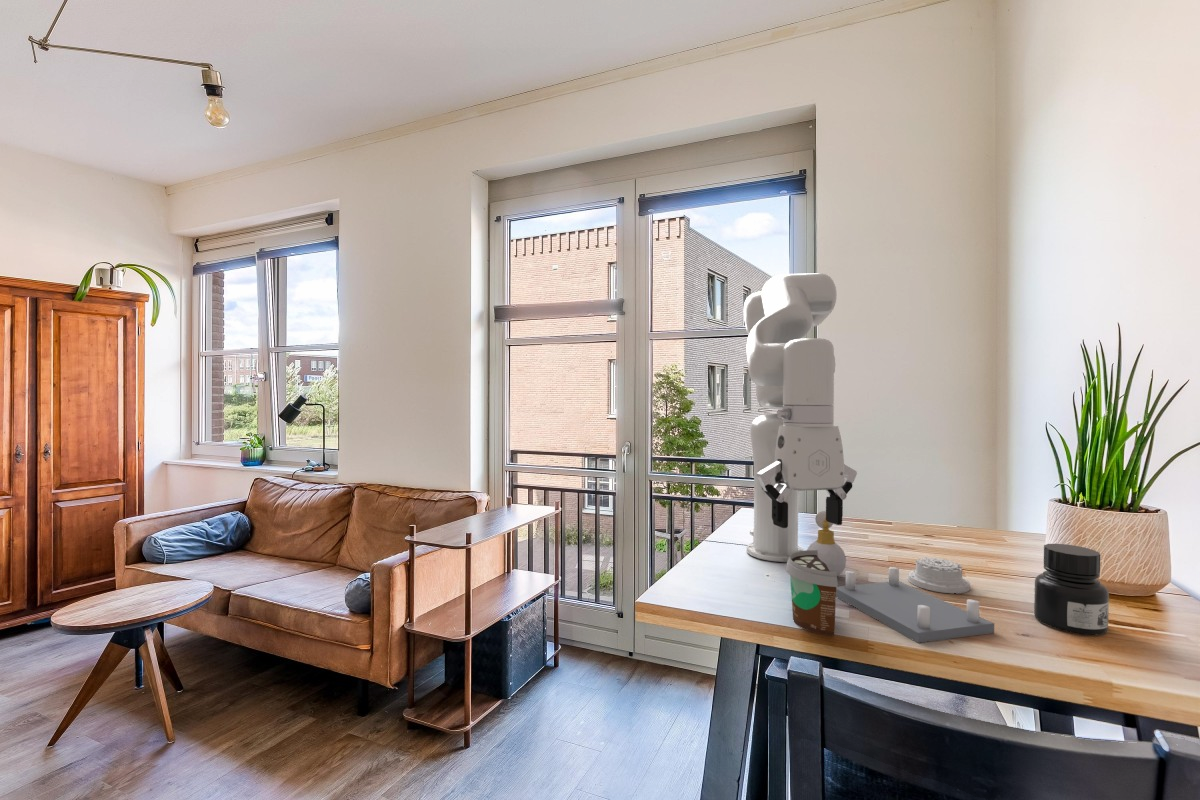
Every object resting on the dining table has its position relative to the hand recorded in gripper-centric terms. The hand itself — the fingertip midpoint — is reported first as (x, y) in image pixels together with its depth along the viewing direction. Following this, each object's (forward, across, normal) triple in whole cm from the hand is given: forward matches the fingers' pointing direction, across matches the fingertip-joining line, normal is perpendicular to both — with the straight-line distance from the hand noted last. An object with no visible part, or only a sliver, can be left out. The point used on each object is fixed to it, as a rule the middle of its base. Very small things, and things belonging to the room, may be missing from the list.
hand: (807, 524), depth 87 cm
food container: (+16, 0, +1) cm, 16 cm away
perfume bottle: (+15, +17, +20) cm, 31 cm away
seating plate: (+16, +19, 0) cm, 24 cm away
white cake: (+16, +35, +10) cm, 40 cm away
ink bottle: (+16, +40, -10) cm, 45 cm away
